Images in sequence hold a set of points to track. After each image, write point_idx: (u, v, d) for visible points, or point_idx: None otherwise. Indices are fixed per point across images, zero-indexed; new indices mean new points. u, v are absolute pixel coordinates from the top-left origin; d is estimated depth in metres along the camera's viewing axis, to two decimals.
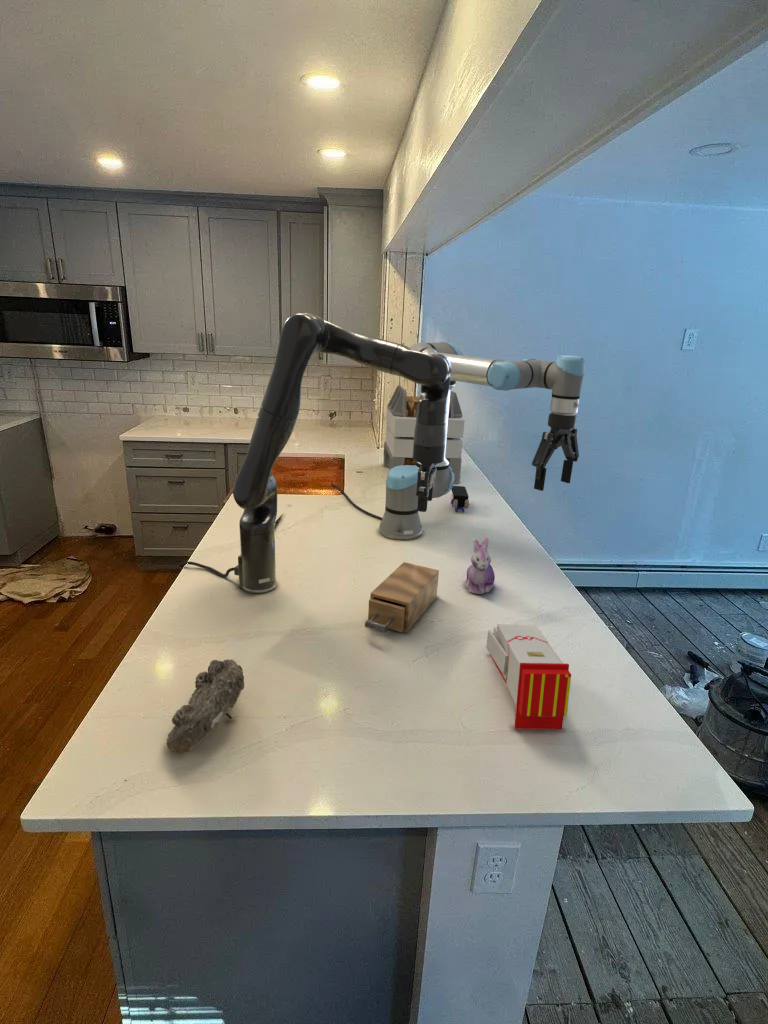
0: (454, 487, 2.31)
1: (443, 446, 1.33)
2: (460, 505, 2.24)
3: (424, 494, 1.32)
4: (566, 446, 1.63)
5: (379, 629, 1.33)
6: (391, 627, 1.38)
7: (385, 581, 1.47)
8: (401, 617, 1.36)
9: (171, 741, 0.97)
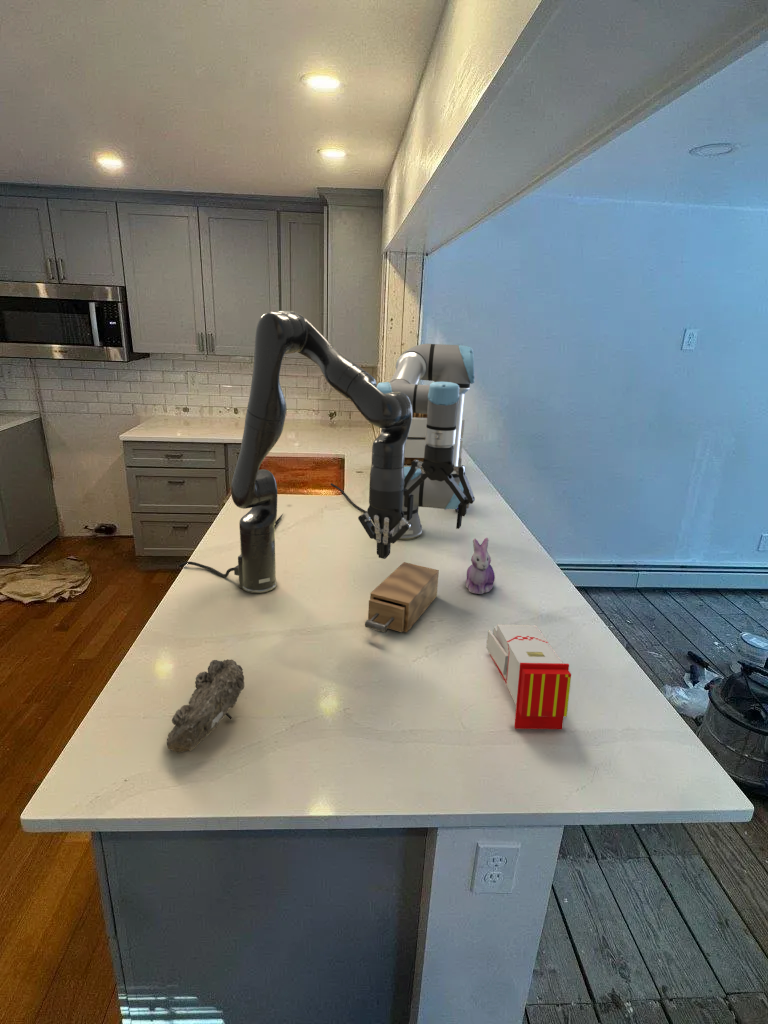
0: None
1: None
2: None
3: None
4: None
5: (379, 629, 1.33)
6: (391, 627, 1.38)
7: (385, 581, 1.47)
8: (401, 617, 1.36)
9: (171, 741, 0.97)
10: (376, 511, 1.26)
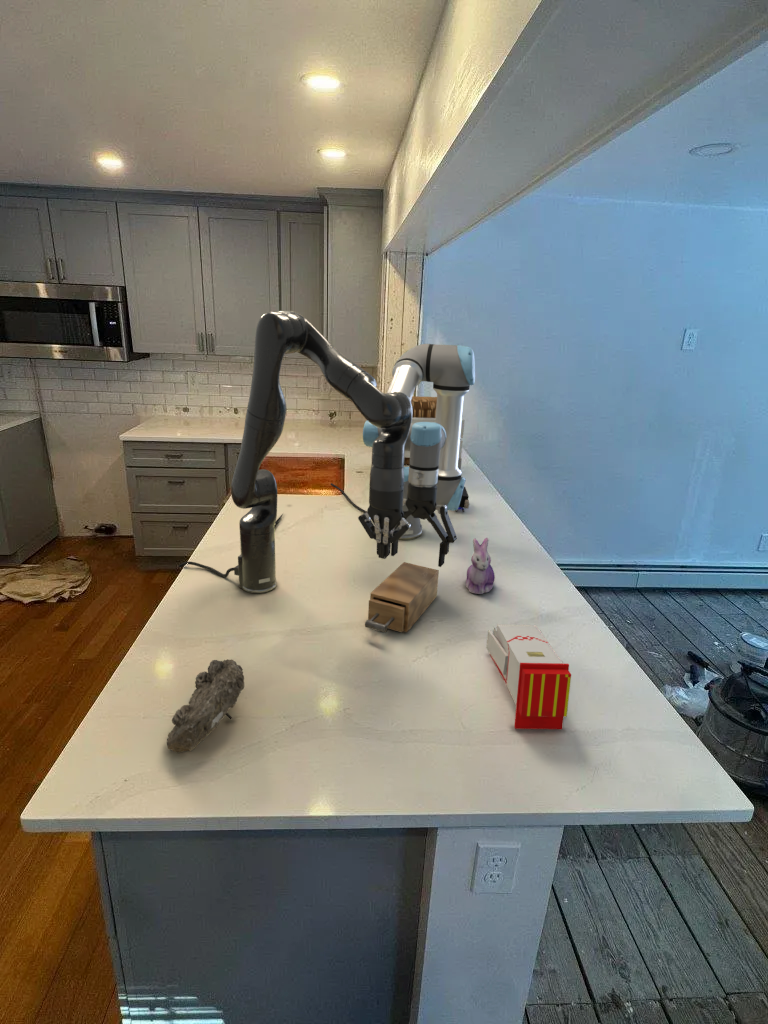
0: None
1: None
2: (460, 505, 2.24)
3: None
4: None
5: (379, 629, 1.33)
6: (391, 627, 1.38)
7: (385, 581, 1.47)
8: (401, 617, 1.36)
9: (171, 741, 0.97)
10: (376, 511, 1.26)
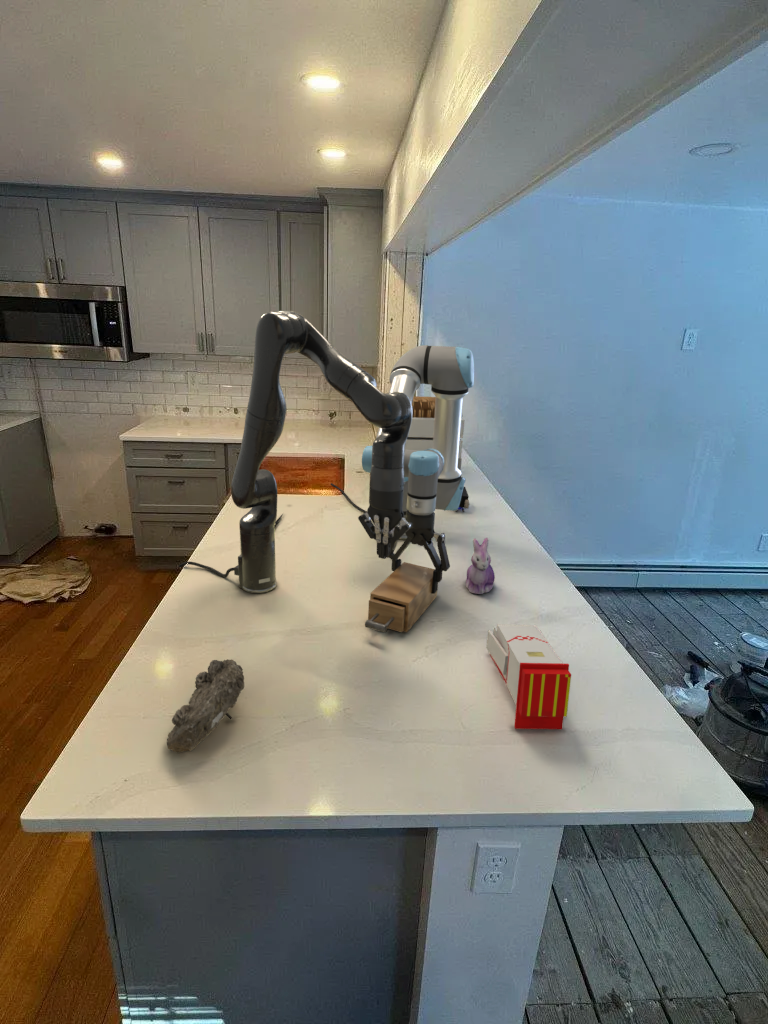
0: None
1: None
2: (460, 505, 2.24)
3: None
4: None
5: (379, 629, 1.33)
6: (391, 627, 1.38)
7: (385, 581, 1.47)
8: (401, 617, 1.36)
9: (171, 741, 0.97)
10: (376, 511, 1.26)
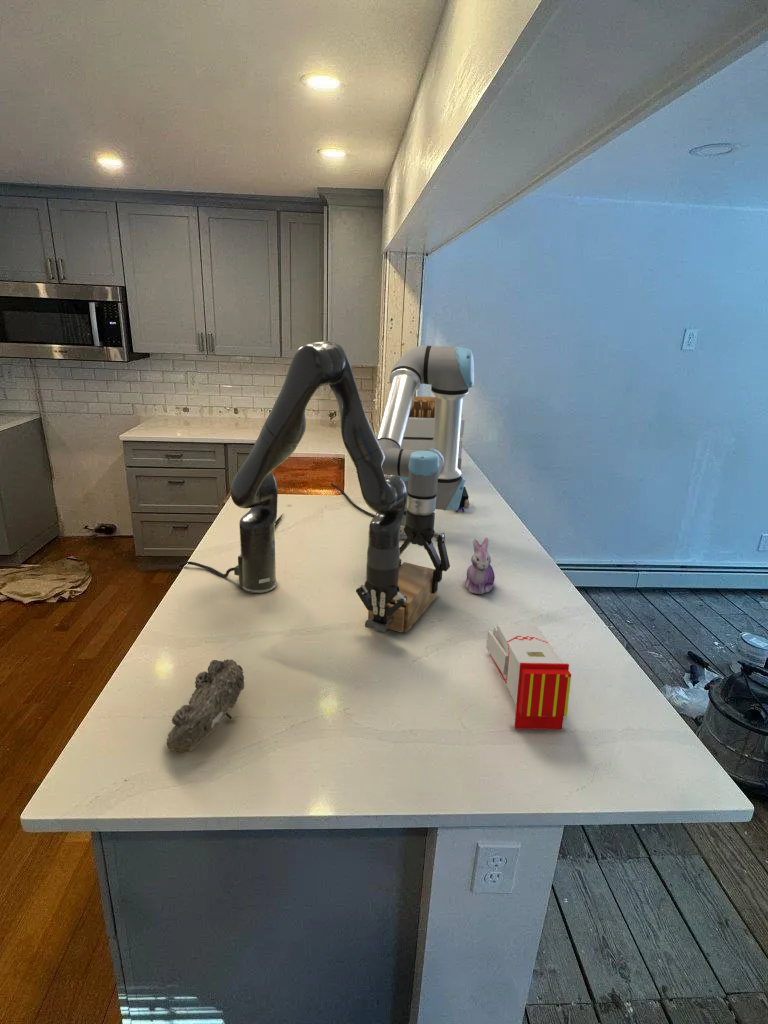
0: None
1: None
2: (460, 505, 2.24)
3: None
4: None
5: (379, 629, 1.33)
6: (391, 627, 1.38)
7: None
8: (401, 617, 1.36)
9: (171, 741, 0.97)
10: (373, 585, 1.32)
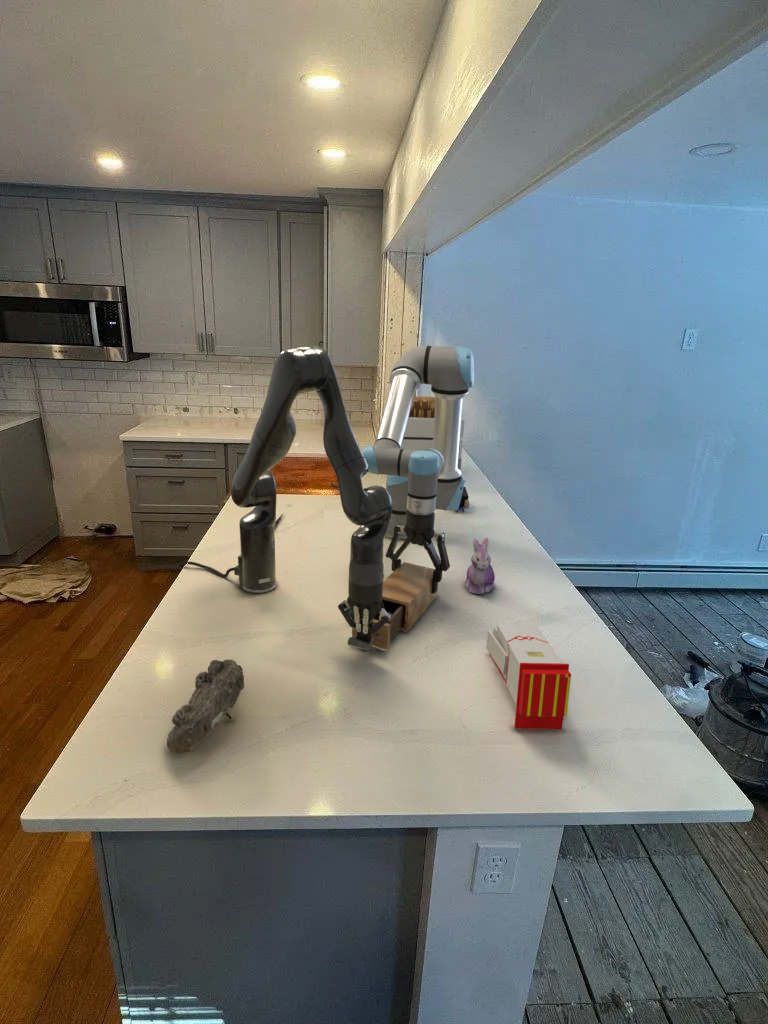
0: None
1: None
2: (460, 505, 2.24)
3: None
4: None
5: (362, 647, 1.25)
6: (376, 644, 1.31)
7: (385, 581, 1.47)
8: (386, 634, 1.29)
9: (171, 741, 0.97)
10: (356, 601, 1.25)
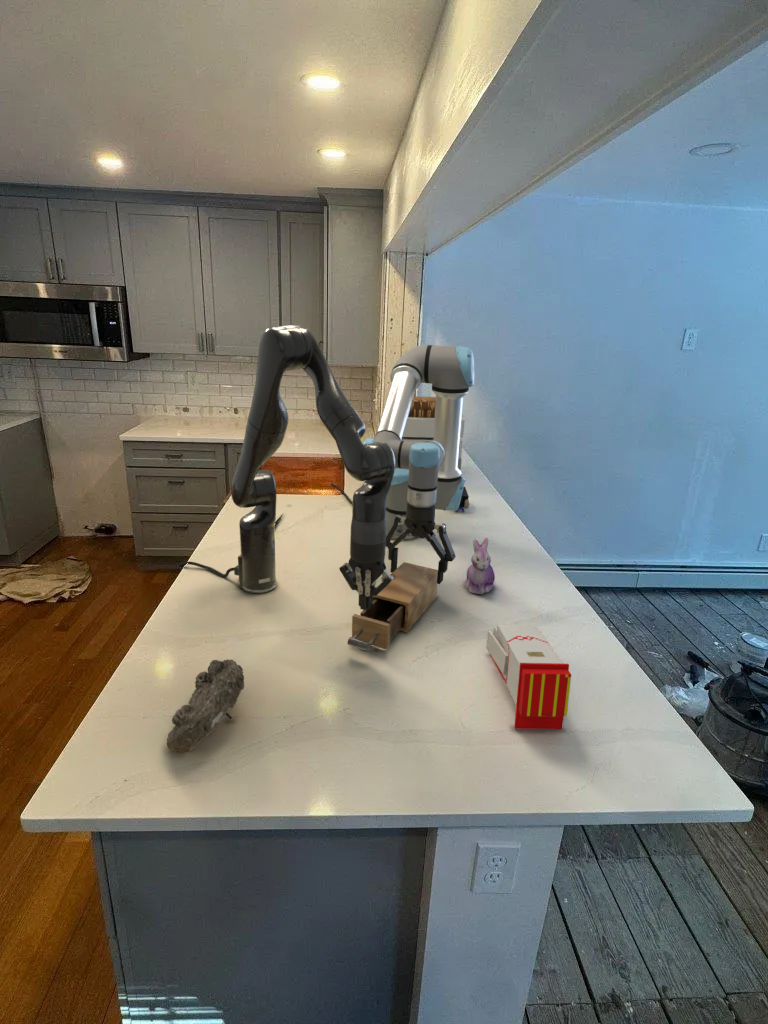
0: None
1: None
2: (460, 505, 2.24)
3: None
4: None
5: (362, 647, 1.25)
6: (376, 644, 1.31)
7: None
8: (386, 634, 1.29)
9: (171, 741, 0.97)
10: (357, 563, 1.22)
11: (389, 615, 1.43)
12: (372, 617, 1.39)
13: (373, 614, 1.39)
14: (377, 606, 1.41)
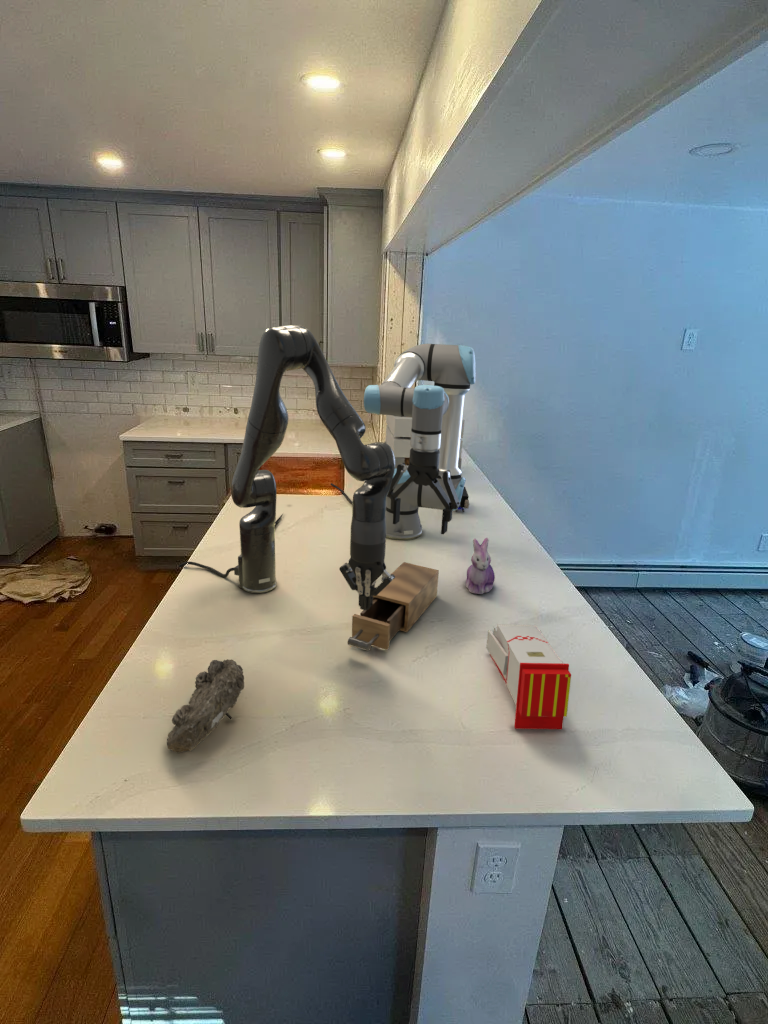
0: None
1: None
2: (460, 505, 2.24)
3: None
4: None
5: (362, 647, 1.25)
6: (376, 644, 1.31)
7: None
8: (386, 634, 1.29)
9: (171, 741, 0.97)
10: (357, 563, 1.22)
11: (389, 615, 1.43)
12: (372, 617, 1.39)
13: (373, 614, 1.39)
14: (377, 606, 1.41)
